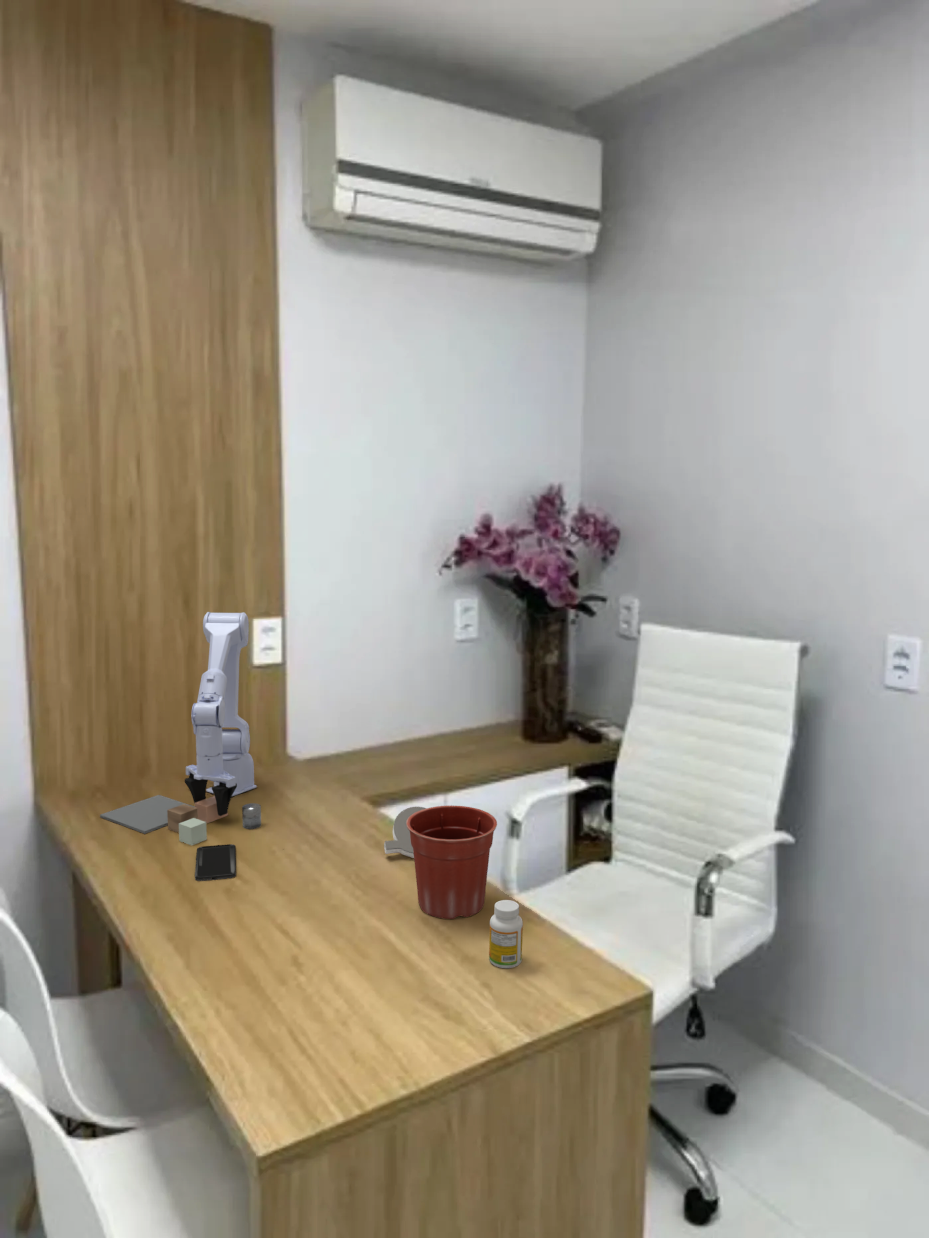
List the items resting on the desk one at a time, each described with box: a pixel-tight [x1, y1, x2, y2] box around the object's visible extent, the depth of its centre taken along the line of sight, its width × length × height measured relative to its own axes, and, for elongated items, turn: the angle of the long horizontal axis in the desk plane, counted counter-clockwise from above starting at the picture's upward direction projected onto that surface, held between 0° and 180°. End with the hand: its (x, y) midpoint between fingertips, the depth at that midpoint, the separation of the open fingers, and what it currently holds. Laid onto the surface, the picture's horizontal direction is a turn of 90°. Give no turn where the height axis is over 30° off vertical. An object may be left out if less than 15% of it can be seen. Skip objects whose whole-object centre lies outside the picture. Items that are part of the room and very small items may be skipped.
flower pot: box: [406, 805, 498, 920], centre depth 171 cm, size 16×16×16 cm
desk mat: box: [99, 794, 195, 834], centre depth 213 cm, size 16×16×1 cm
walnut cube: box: [167, 803, 198, 834], centre depth 206 cm, size 4×4×4 cm
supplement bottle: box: [488, 899, 524, 969], centre depth 153 cm, size 5×5×10 cm
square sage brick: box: [178, 818, 208, 846], centre depth 199 cm, size 4×4×4 cm
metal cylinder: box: [241, 802, 262, 830], centre depth 208 cm, size 4×4×4 cm
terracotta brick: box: [194, 795, 229, 824], centre depth 212 cm, size 6×4×4 cm, turn 145°
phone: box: [194, 843, 237, 882], centre depth 188 cm, size 8×1×15 cm
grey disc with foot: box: [383, 806, 427, 859], centre depth 197 cm, size 15×8×11 cm, turn 106°
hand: (211, 810), depth 212 cm, fingers open, 7 cm apart
